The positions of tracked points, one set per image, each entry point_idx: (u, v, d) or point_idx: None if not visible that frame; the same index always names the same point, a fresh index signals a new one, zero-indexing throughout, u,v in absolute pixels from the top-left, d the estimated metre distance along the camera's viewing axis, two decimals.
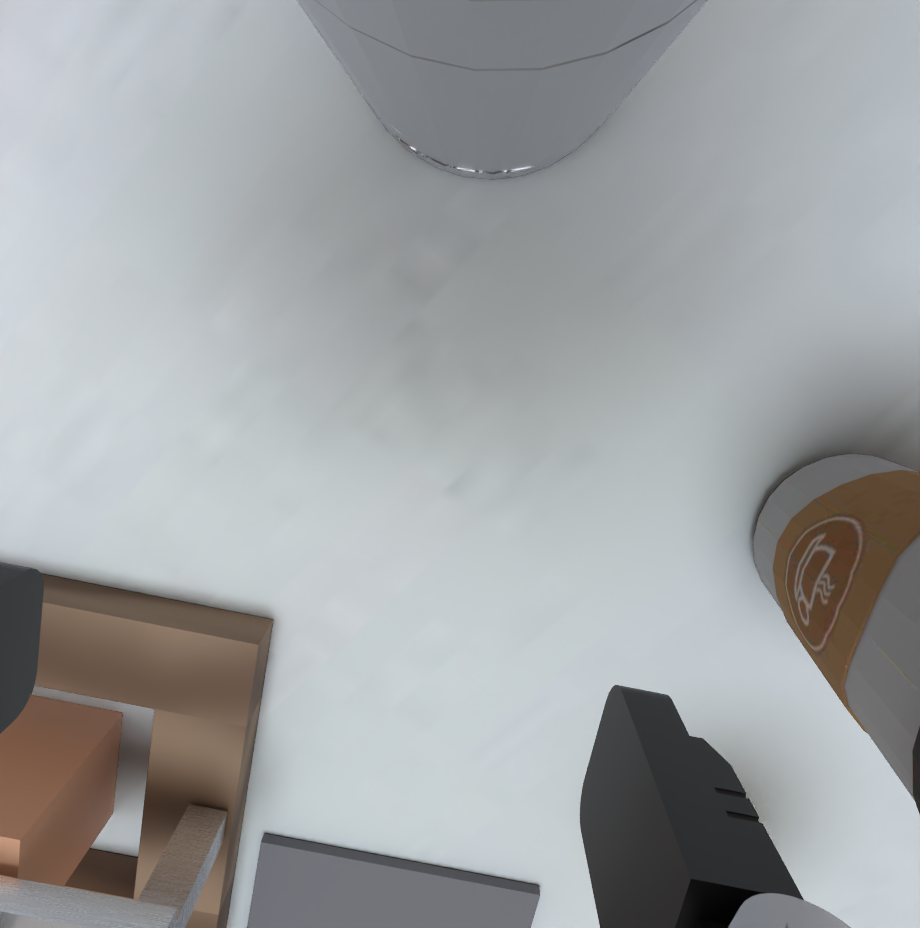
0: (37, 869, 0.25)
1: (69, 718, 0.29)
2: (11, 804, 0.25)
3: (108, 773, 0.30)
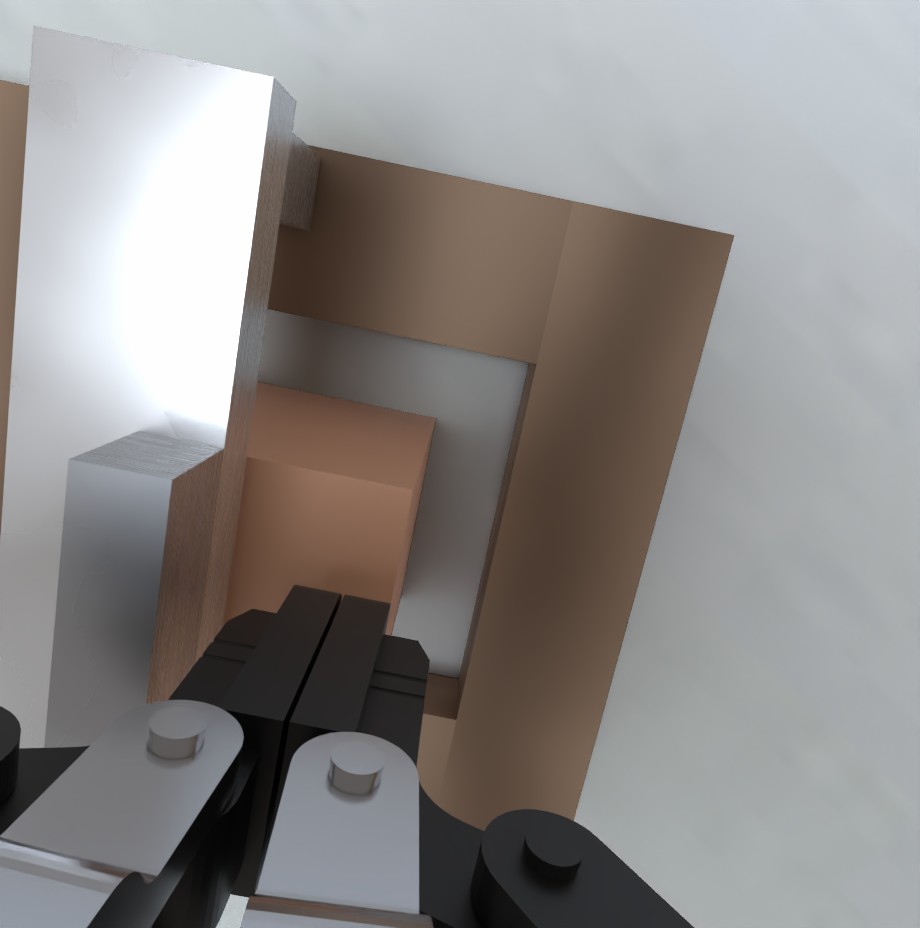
0: None
1: (408, 552, 0.19)
2: None
3: None
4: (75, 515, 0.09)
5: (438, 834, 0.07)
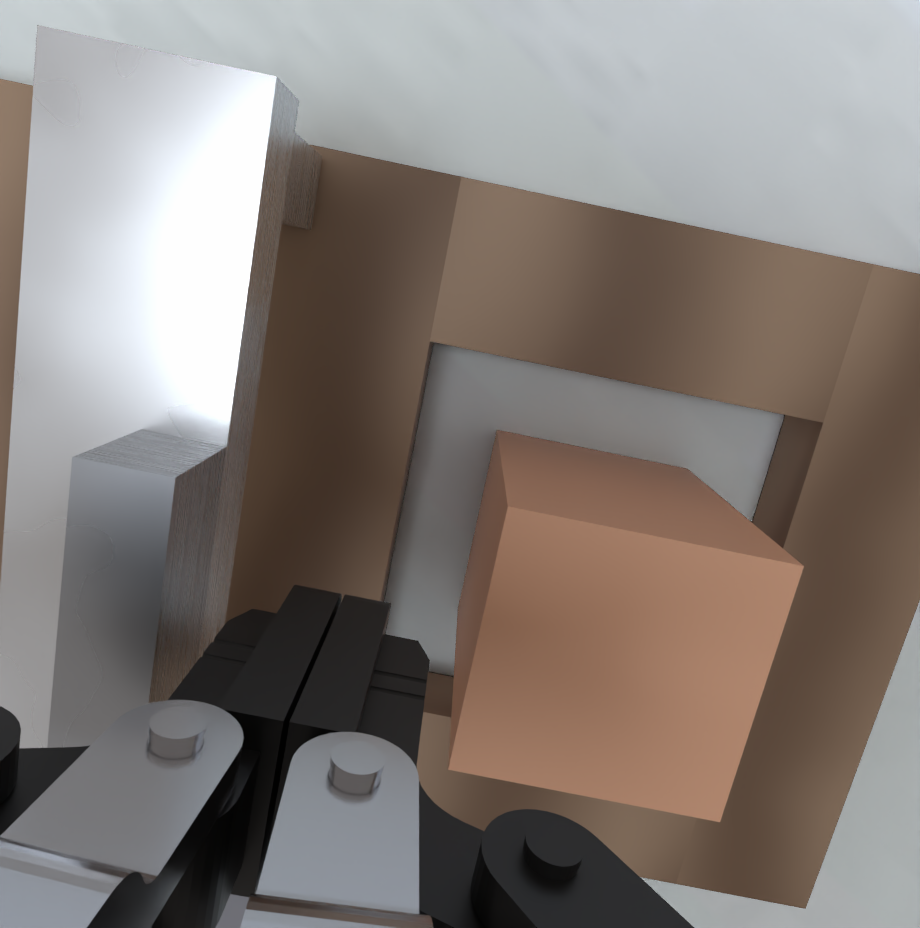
0: None
1: None
2: None
3: None
4: (79, 513, 0.09)
5: (438, 834, 0.07)
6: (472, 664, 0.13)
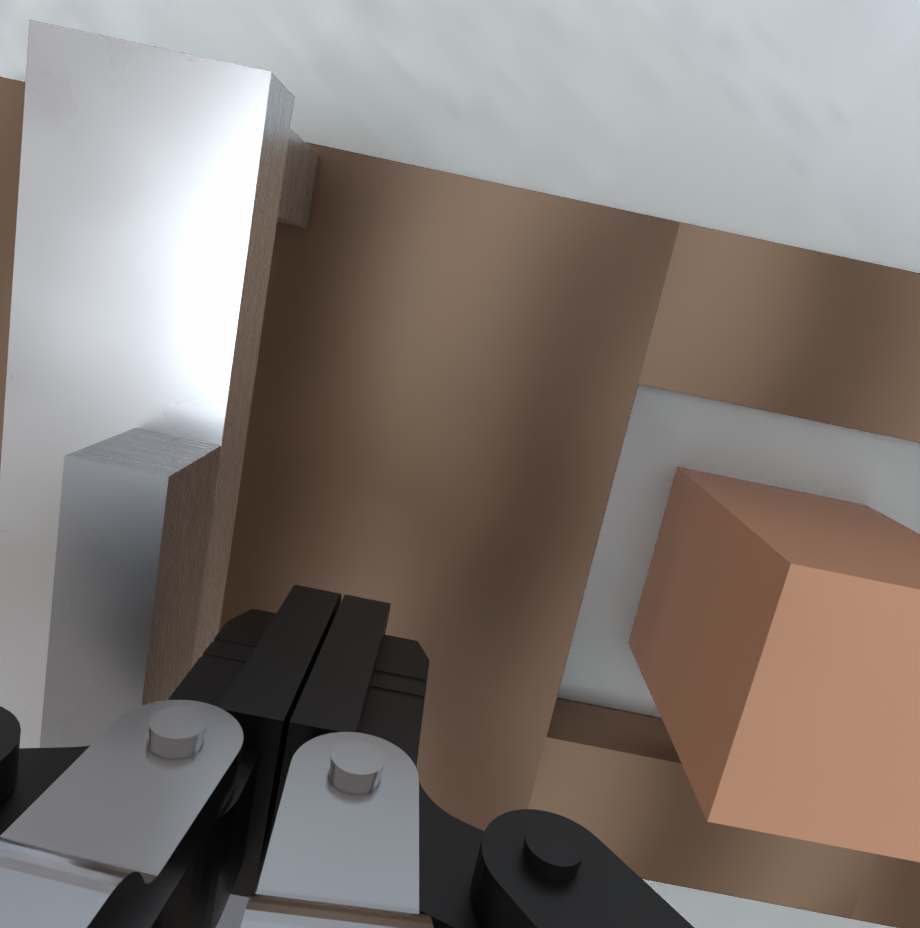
0: None
1: None
2: None
3: None
4: (71, 512, 0.09)
5: (438, 834, 0.07)
6: (740, 718, 0.13)
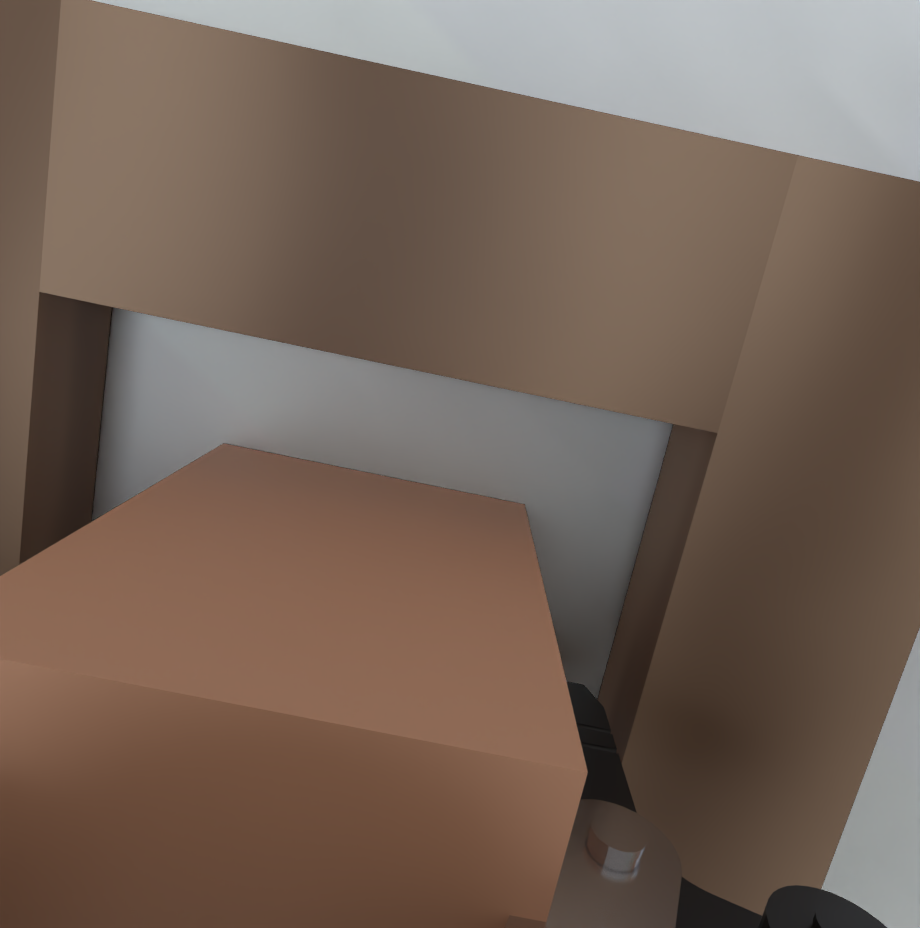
0: None
1: None
2: None
3: None
4: None
5: (695, 910, 0.07)
6: None
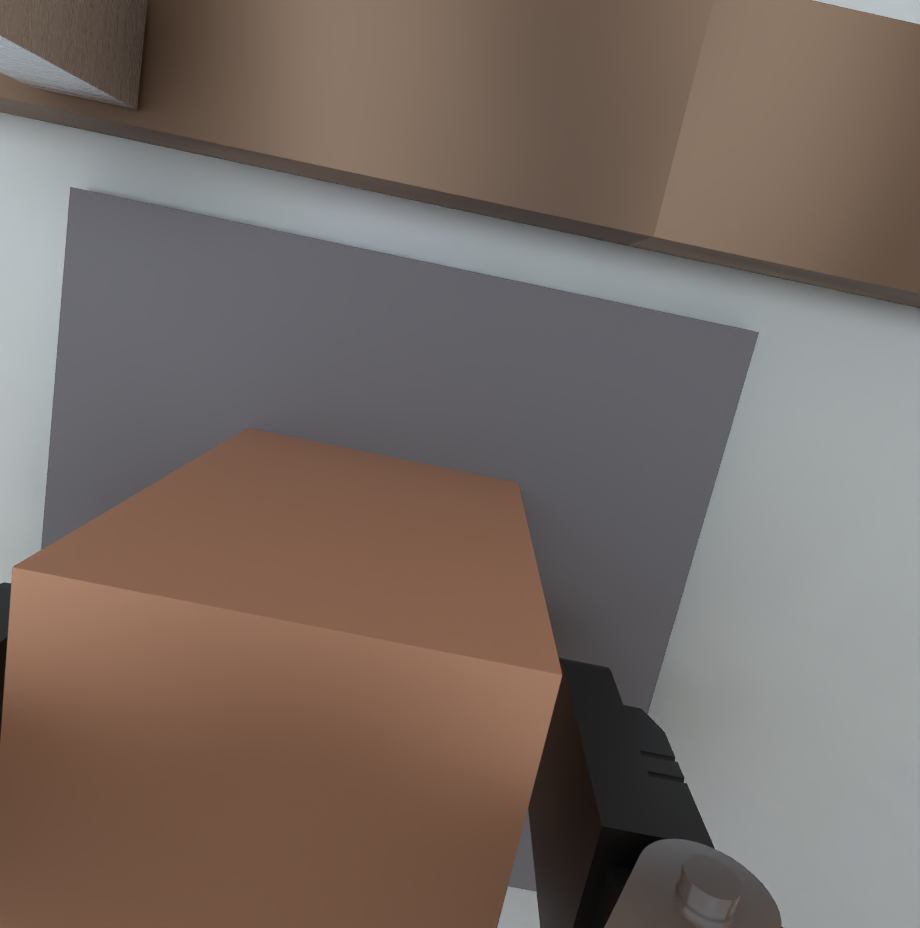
0: None
1: None
2: None
3: None
4: None
5: None
6: None
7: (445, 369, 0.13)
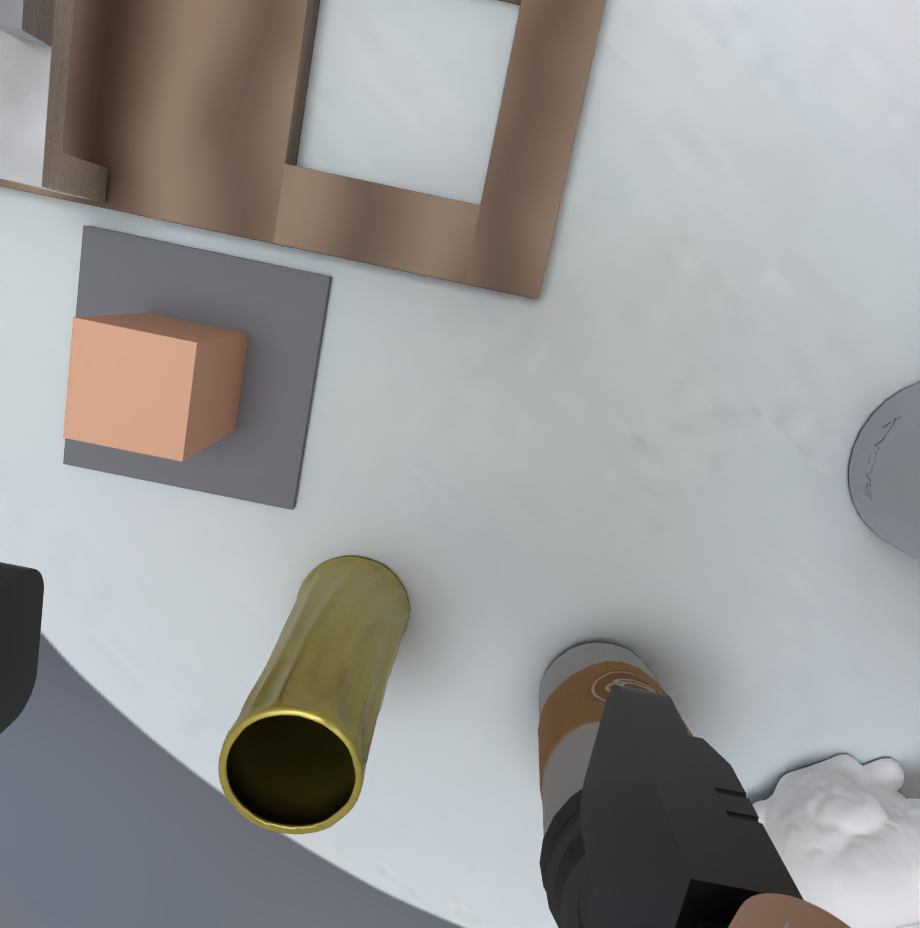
0: None
1: (233, 401, 0.36)
2: (197, 430, 0.32)
3: None
4: None
5: None
6: (68, 388, 0.30)
7: (219, 290, 0.36)
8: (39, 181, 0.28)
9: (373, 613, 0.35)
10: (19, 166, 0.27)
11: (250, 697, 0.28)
